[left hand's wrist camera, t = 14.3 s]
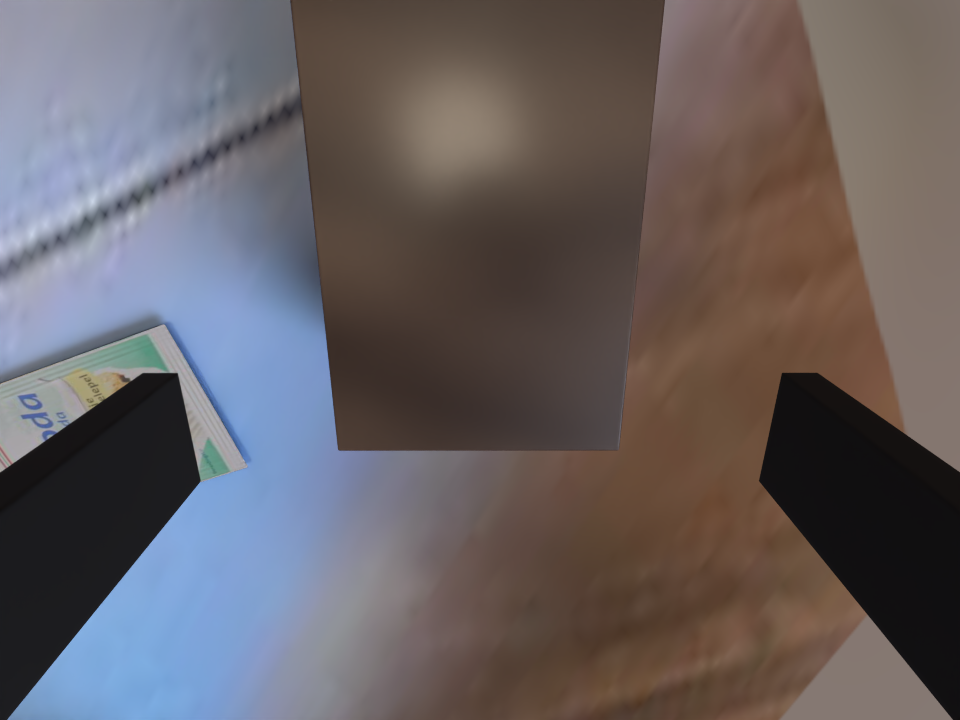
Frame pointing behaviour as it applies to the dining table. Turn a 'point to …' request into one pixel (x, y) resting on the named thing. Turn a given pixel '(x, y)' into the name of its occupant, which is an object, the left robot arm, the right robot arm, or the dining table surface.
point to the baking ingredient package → (95, 376)
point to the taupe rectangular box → (478, 214)
